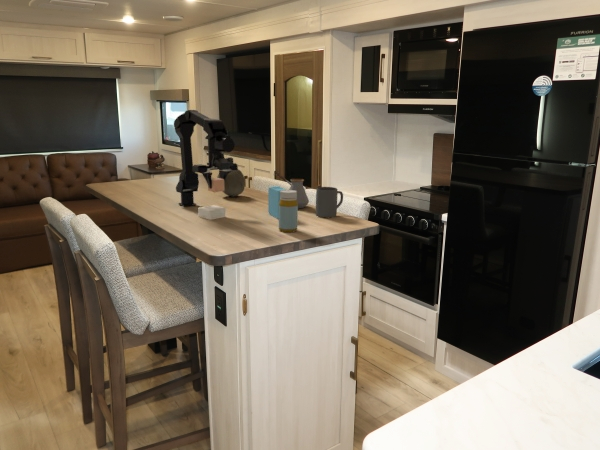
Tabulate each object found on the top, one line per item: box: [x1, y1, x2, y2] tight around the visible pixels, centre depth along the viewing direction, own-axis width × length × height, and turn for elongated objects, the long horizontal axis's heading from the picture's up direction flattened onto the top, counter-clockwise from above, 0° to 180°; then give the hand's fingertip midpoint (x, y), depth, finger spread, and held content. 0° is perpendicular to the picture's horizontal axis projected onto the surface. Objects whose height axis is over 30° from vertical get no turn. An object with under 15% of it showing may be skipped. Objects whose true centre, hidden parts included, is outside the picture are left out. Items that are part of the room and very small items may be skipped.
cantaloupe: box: [216, 168, 246, 198], centre depth 241 cm, size 14×14×15 cm
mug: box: [315, 186, 344, 219], centre depth 204 cm, size 14×9×12 cm
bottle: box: [278, 189, 299, 233], centre depth 176 cm, size 7×7×15 cm
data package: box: [267, 186, 287, 220], centre depth 200 cm, size 12×4×12 cm, turn 24°
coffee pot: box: [273, 171, 310, 209], centre depth 223 cm, size 21×12×15 cm, turn 45°
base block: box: [197, 204, 227, 220], centre depth 197 cm, size 8×8×4 cm
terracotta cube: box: [207, 177, 224, 193], centre depth 199 cm, size 5×5×5 cm
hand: (216, 187), depth 200 cm, fingers closed on terracotta cube, 5 cm apart
